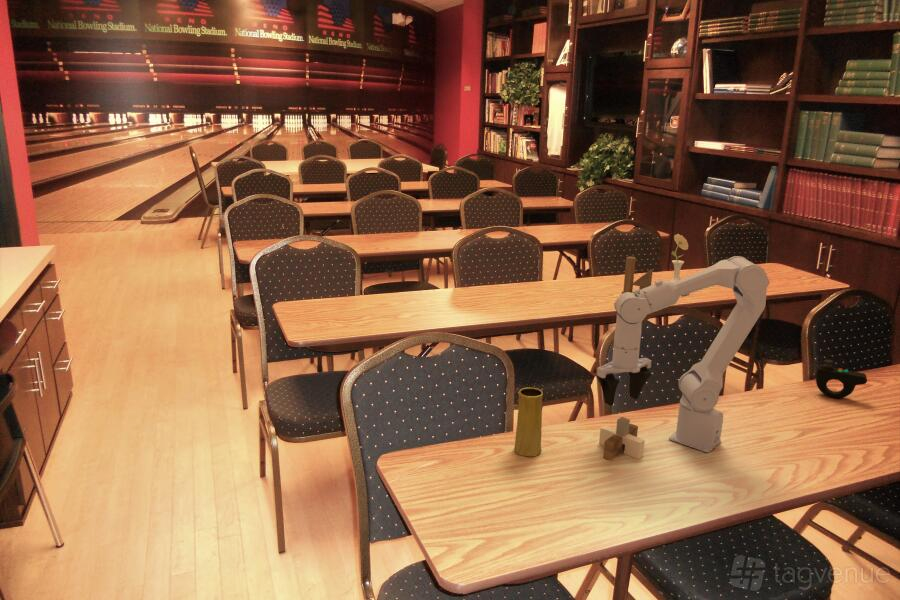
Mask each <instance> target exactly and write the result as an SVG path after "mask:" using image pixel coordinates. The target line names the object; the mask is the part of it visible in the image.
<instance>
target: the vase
mask: <svg viewBox="0 0 900 600" xmlns="http://www.w3.org/2000/svg"><path fill="white" fill-rule="evenodd" d="M543 396H544V393H543V390H541V389H540V388H536V387H523V388H521V389H519V391H518V407H517V408H518V409H517V417H516V418H517V421H516V431H515V442H514V448H513V449H514V452H515V453H517V454H518V456H519V455H520V456H521V457H522V456H523V457H528V458H529V457H531V458H532V457H533V458H534V457H536V456H538V455H541V453H542V425H543V424H542V423H543V422H542V421H543Z"/></svg>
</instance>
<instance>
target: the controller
mask: <svg viewBox="0 0 900 600" xmlns="http://www.w3.org/2000/svg"><path fill="white" fill-rule="evenodd" d="M823 362H824V364H823V363H822V364H817V365H816V370H815V371H814V376H813V378H815V383H816V387H817V388H818V390H819V391H820V392H821V393H822V394H823V395H825V396H827V397H829V398H832V399H842V398H843V399H844V398H846V397H848V396H849V395H851V394H852V393H853V391H854V390H855V388H856V386H861V385H862V386H863V385H865V384H867V382H868V377H867V374H866V373H863V372H859V371H852V370H848V369H843V368H842V367H839V368H838V367H835V366H833V363H834V361H833V360H831V359H824V360H823ZM832 380H833V381H834V380H836V381H838V382H840V383H841V384H842V387H843V388H841V390H838V391H834V390H831V389H830V388H829V387H828V385H827V383H829V381H832Z"/></svg>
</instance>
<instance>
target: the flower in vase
mask: <svg viewBox="0 0 900 600" xmlns="http://www.w3.org/2000/svg"><path fill="white" fill-rule="evenodd" d="M673 238H674V242H675V243H676V245H677V246H676V248H675V251H674V250H672V252H671V253H670V255H672V256H673V257H675V260H671V262H672V264H673V268H674V270H673V271H674V272H673V276H672V278H671V279H670V280H669V281H670V282H676V281H678V280H681V278H680V271H681V269H682V266H683V264H684V263H685V261H684V260H679V258H681V257H682V256H684V254H681V255H679V256H677V250H678V248H680V249H681V250H684V251H687V250H688V249H689V243H688V240H687V239H686V238H685V237H684V236H683V235H682V234H681V235H680V234H679V233H677V234H674V237H673Z"/></svg>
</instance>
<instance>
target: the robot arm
mask: <svg viewBox="0 0 900 600" xmlns="http://www.w3.org/2000/svg"><path fill="white" fill-rule="evenodd" d="M769 284H771V282H770V279H769V277H768V274H767V272H766V271H765V269H764V267H762V266H760V265H758V264H755V263H753V262H752V261H750V260H748V259H747V258H746V257H744V256H741V255H739V256H738V255H737V256H736V255H734V256H732V257H729V258H727V259H722V260H719V261H718V262H716V263H715V264H713V265H711V266H707V267H705V268H704V269H701V270H700V271H697V272H695V273H693V274H690V275H687V276H686V277H682V278H680V280H678V281H676V282H670V280H668V279H665V280H662V279H657V280H655V281H654V284H651V286H648V287H646V288H643V289H641V290H639V288H635V289H633V290H634V291H632V292H635V293H632V292H631V293H630V292H626V293H623V294H622V293H621V294H620V295H619V297H617V299H616V300H615V302H614V303H613V307H614V309H615V312H616V313H617V314H616V322H615V325H614V327H615V329H614V335H613V338H614V339H613V349H612V360H611V361H610V362H607V363H606V364H604V365H602V366H598V367H597V368H596V379H597V380H598V382H599V384H600V387H601V392H602V394H603V401H604V404H606V405H608V406H610V407H611V406H614V402H615V398H616V397H615V396H616V391H617V388H618V385H619V383H620V382H621V380H619V379H617V378H616V377H615V376H614V375H618V374H621V373H622V374H623V373H628V375H629V376H628V377H629V388H628V389H629V390H628V392H629V397H630V398H632V399H634V400H638V399H639V397H640V394H641V391H642V389H643V387H644V385H645V383H646V382H647V380H648V379H649V378H650V377H651V375H652V371H651V370H649V369H651V367H652V360H651V359H649V358H647V357H641V358H640V357H639V356H640V349H641V348H640V347H641V339H642V323H643V321H644V320H645V318H646V317H647V315H650V314H652V313H655V312H658V311H660V310H663V309H666V308H669V307H671V306H674V305H676V304H677V303H678V301H679V299H680V297H683V296H686V295H688V294H692V293H694V292H698V291H700V290H701V291H702V290H704V289H707V288H710V287H714V286H719V287H723V288H727V289H732V292H733V295H734V297H735V300H736V304H735V306H734V307H733V309H732V311H731V313H730V314H729V316H728V317H727V319H726V320H725V322H724V324H723V325H722V327H721V328H720V330H719V332H718V333H717V335H716V337H715V338H714V340H713V341H712V343H711V344H710V345H709V348H708V349H707V351H706V352H705V355H703V357H702V359H701V361H699V362H696V363H695V364H693V365H692V366H691V368H690V369H689V370H688V371H686V372H685V373H683V374H682V375H681V376H680V378H679V380H678V389H679V390H680V392H681V393H682V395H681V398H680V399H679V407H678V414H677V423H676V428H675V429H676V430H675V432H674V433H673V434H671V435H670V436H669V437H668V439H669V440H670V441H672V442H675V443H677V444H681V445H683V446H684V445H685V446H687V447H690V448H692V449H696V450H698V451H701V452H704V453H707V454H708V453H710V452H711V451H712V450H713V449H714V448H715V447H716V446H718V445H719V444H720V443H721V441H722V439H721V435H722V429H723V423H724V414H723V412H721V411H719V410H717V409H716V408H715V407H716V406H717V404H718V402H719V399H720V398H719V397H720V393H721V391H722V388H723V385H724V384H723V383H724V382H723V381H724V380H723V376H724V373H725V372H726V370H727V368H728V367H729V365H730V364H731V362H732V360H733V359H734V357H735V355H736V354H737V353H738V351H739V349H740V348H741V347H742V344H743V343H744V342H745V340H746V339H747V337H748V335H749V334H750V332H751V331H752V329H753V328H754V326H755V325H756V323H757V321H758V319H759V318H760V317H761V315H762V313H763V311H764V310H765V308H766V305H767V304H766V301H767V292H768V291H767V289H768V287H769V286H770V285H769Z"/></svg>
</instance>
